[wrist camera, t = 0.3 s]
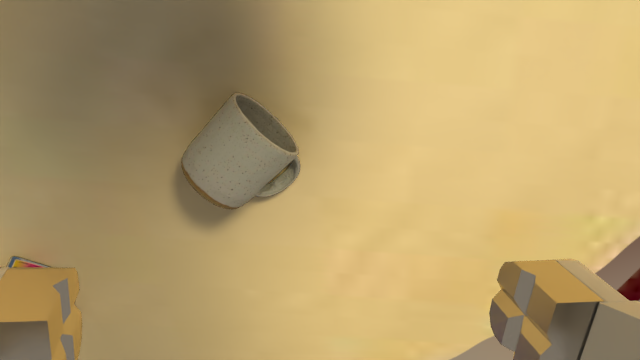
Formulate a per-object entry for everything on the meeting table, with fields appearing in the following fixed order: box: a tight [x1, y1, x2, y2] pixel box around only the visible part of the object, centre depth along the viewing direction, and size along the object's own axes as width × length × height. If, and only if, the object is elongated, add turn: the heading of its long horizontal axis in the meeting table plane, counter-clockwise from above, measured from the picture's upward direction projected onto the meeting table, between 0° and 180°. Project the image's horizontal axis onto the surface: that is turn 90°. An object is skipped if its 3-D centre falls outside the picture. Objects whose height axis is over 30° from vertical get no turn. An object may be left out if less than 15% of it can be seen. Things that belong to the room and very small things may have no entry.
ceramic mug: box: [182, 93, 300, 209], centre depth 47 cm, size 11×8×8 cm
